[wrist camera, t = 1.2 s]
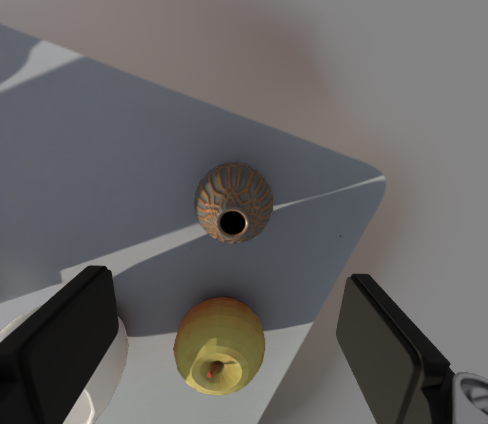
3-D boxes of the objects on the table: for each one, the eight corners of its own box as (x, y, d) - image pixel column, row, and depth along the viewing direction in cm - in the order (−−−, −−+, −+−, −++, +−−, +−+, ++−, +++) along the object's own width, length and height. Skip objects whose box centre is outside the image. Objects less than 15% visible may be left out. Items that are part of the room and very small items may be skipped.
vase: (193, 165, 24) (170, 185, 16) (262, 152, 24) (274, 164, 16) (210, 228, 26) (196, 274, 18) (272, 216, 26) (288, 257, 18)
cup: (36, 270, 28) (-65, 340, 18) (146, 286, 29) (103, 360, 19) (43, 351, 31) (-37, 443, 22) (140, 363, 32) (101, 455, 23)
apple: (179, 283, 28) (158, 339, 21) (262, 283, 29) (270, 338, 21) (186, 347, 32) (169, 416, 24) (260, 346, 32) (267, 414, 24)
